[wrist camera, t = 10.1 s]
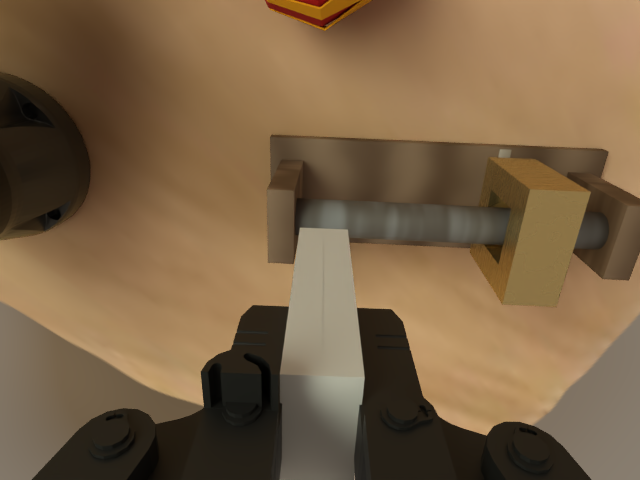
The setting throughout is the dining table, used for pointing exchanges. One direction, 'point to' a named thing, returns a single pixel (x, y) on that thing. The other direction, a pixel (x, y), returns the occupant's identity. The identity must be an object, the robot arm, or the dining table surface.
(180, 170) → the dining table surface
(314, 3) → the potion bottle
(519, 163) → the collar
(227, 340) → the dining table surface
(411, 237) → the pipe rig
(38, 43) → the dining table surface
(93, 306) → the dining table surface
